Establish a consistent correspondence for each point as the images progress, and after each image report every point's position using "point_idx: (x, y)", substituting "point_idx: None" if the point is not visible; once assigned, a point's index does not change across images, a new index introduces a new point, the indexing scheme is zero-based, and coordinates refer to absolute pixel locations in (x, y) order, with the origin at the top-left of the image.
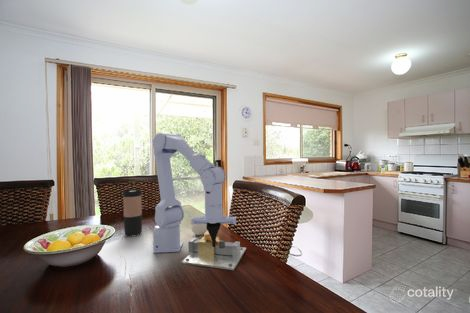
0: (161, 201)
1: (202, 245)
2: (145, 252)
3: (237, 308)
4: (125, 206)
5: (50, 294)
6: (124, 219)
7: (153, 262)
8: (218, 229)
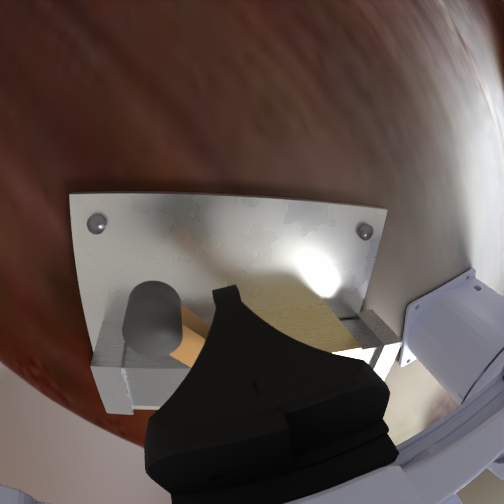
0: None
1: (324, 338)
2: (485, 266)
3: None
4: None
5: None
6: None
7: (465, 201)
8: (157, 413)
